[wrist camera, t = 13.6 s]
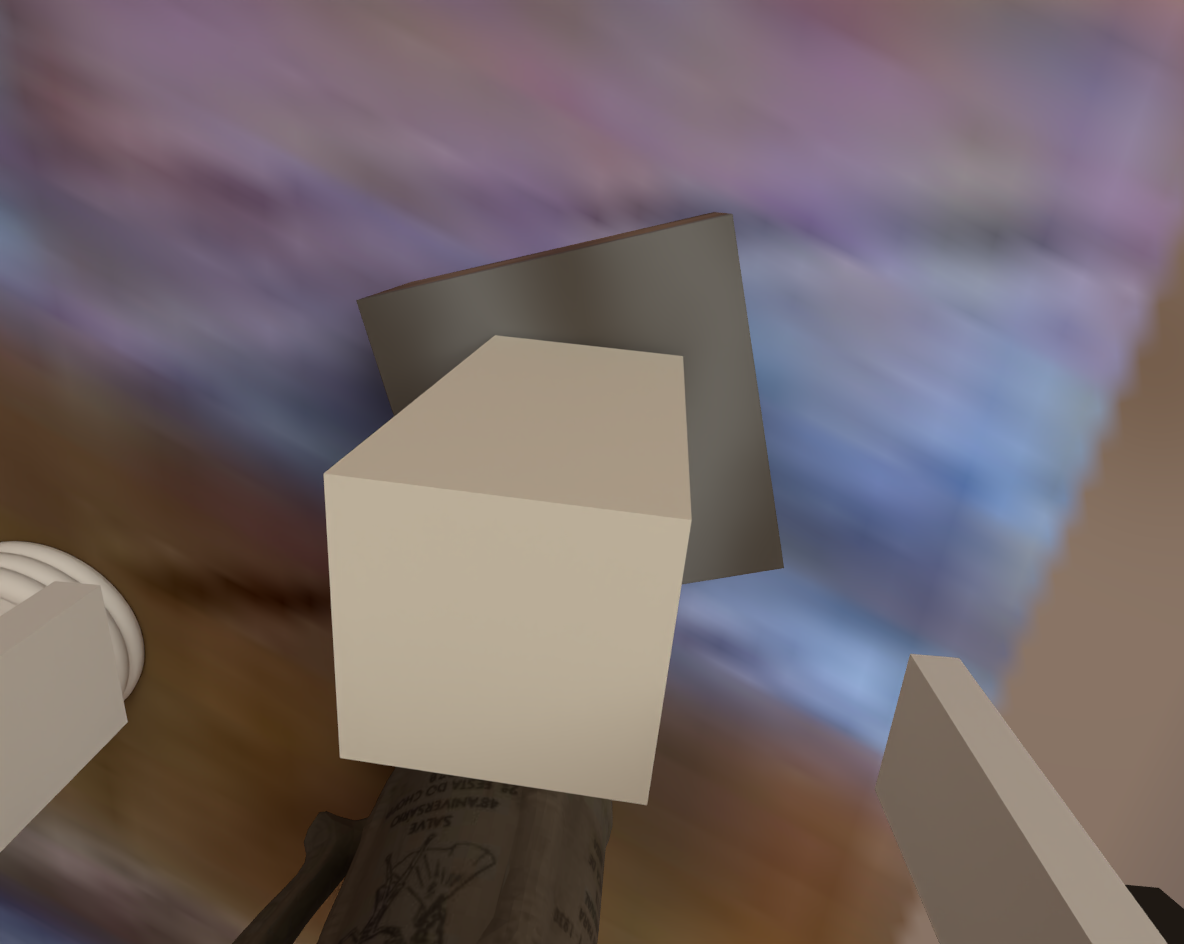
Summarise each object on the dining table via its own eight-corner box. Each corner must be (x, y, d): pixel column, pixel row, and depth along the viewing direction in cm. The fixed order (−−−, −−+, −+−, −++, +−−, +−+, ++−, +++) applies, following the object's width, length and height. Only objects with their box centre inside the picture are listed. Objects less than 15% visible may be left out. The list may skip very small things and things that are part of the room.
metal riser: (492, 547, 32) (460, 619, 27) (412, 281, 28) (356, 300, 23) (757, 501, 31) (783, 567, 25) (713, 211, 27) (732, 213, 21)
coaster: (-16, 497, 33) (-89, 530, 30) (180, 609, 34) (132, 652, 31) (-72, 644, 36) (-143, 688, 33) (109, 740, 38) (59, 792, 34)
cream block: (488, 505, 25) (339, 757, 14) (495, 334, 23) (323, 473, 12) (659, 527, 25) (647, 804, 13) (683, 356, 22) (691, 520, 11)
